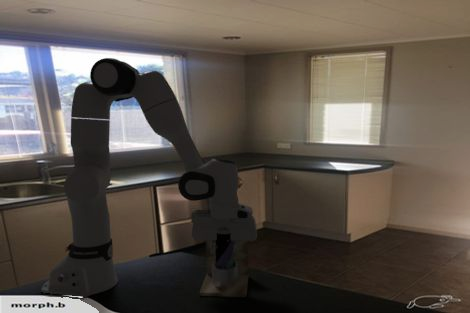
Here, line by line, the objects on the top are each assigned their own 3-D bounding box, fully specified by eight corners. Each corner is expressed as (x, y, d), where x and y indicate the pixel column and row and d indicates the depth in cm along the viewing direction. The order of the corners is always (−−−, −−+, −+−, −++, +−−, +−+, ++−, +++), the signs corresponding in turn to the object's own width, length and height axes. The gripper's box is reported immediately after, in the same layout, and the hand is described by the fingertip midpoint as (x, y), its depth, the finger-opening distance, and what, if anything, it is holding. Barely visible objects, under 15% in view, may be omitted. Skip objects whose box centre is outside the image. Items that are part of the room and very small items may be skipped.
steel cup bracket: (210, 288, 108) (210, 269, 107) (215, 273, 118) (215, 256, 117) (237, 288, 107) (236, 269, 107) (239, 274, 117) (239, 257, 117)
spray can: (213, 284, 110) (212, 221, 108) (220, 276, 115) (219, 217, 113) (229, 287, 108) (228, 223, 106) (235, 279, 113) (235, 218, 111)
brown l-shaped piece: (199, 295, 105) (198, 253, 104) (207, 275, 119) (206, 237, 118) (246, 297, 104) (246, 254, 103) (248, 276, 118) (248, 238, 117)
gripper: (188, 212, 107) (189, 256, 108) (256, 213, 105) (256, 258, 107) (193, 207, 113) (193, 248, 115) (256, 208, 111) (256, 250, 113)
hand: (224, 253), depth 111 cm, fingers closed on spray can, 5 cm apart
